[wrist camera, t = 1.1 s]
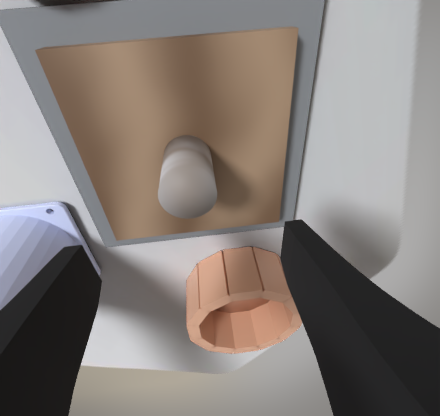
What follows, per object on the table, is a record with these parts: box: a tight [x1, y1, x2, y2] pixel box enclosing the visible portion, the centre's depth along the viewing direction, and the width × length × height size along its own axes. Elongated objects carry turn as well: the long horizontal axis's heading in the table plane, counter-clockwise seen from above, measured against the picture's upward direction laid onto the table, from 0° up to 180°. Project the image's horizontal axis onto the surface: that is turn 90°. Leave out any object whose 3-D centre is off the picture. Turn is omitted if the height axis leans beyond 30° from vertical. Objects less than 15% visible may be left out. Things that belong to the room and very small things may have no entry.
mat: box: [0, 0, 325, 247], centre depth 17 cm, size 15×15×1 cm
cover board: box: [35, 26, 298, 241], centre depth 15 cm, size 12×12×5 cm
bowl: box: [186, 247, 302, 354], centre depth 25 cm, size 10×10×4 cm
